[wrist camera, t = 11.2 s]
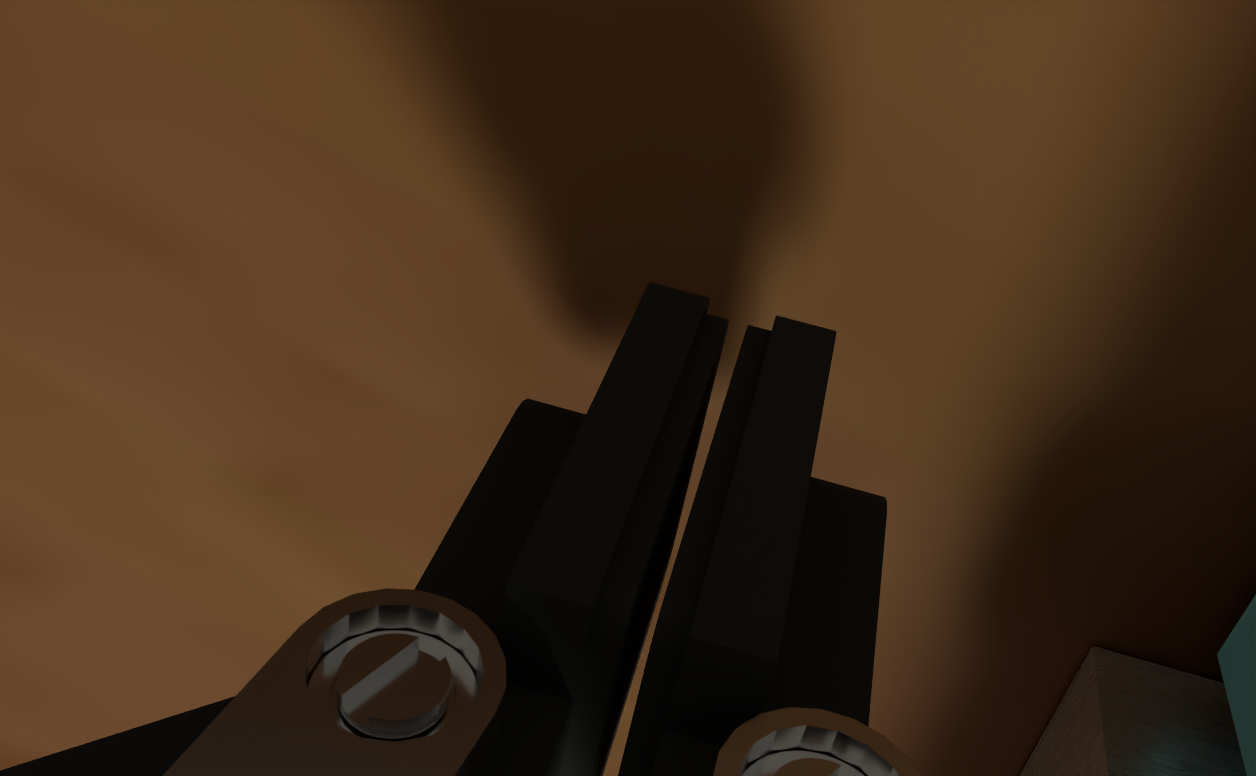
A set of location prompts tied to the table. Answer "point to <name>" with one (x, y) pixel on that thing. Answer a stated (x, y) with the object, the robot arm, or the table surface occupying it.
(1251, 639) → the teal long piece
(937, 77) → the table surface
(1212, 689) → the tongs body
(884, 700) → the table surface
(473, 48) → the table surface
